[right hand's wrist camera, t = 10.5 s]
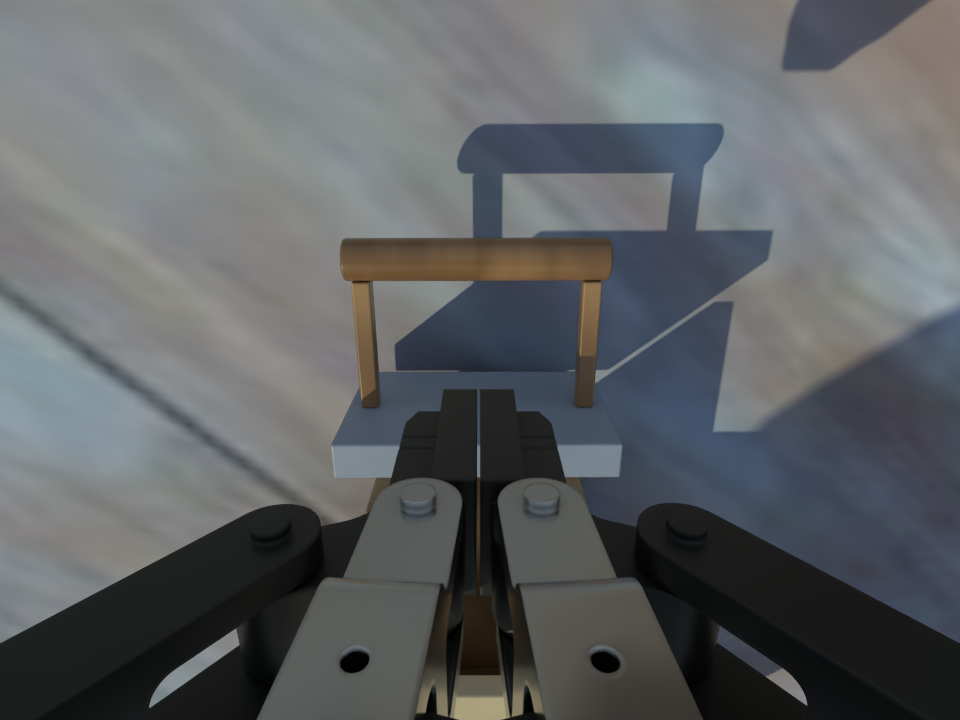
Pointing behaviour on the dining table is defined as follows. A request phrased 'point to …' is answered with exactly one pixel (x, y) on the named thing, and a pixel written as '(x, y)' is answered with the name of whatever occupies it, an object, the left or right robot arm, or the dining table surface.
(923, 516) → the dining table surface
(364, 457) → the drawer
